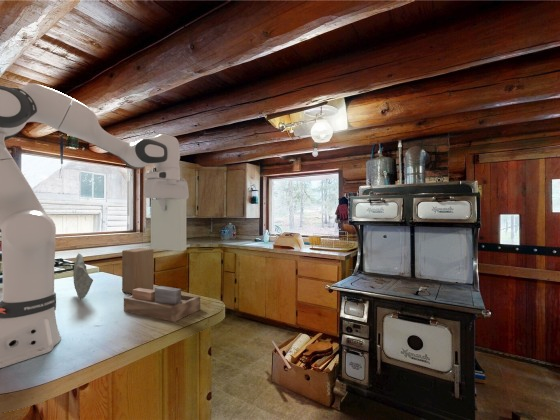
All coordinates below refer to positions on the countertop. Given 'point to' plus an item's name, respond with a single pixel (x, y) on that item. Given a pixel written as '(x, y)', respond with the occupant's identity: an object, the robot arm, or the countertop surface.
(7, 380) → the countertop surface
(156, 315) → the walnut tray
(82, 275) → the rock
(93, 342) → the countertop surface
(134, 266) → the wooden block
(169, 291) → the charcoal offcut
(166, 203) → the white rectangular panel
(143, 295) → the cedar offcut
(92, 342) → the countertop surface
